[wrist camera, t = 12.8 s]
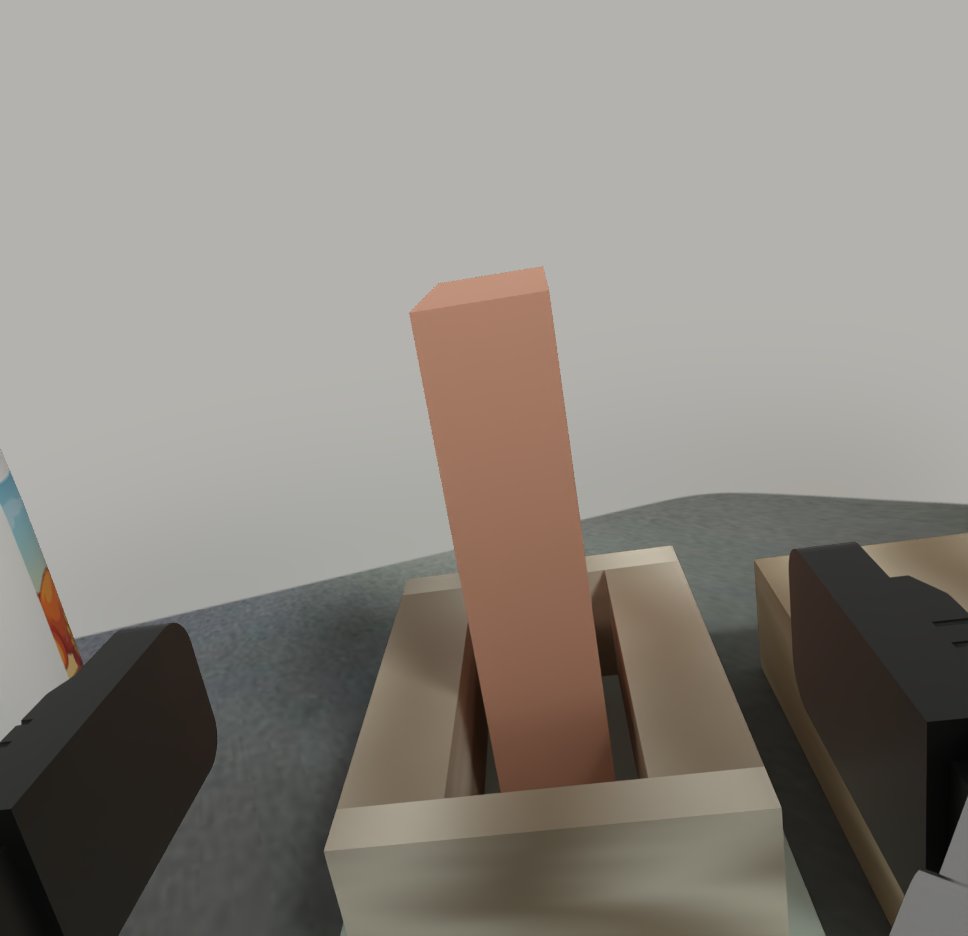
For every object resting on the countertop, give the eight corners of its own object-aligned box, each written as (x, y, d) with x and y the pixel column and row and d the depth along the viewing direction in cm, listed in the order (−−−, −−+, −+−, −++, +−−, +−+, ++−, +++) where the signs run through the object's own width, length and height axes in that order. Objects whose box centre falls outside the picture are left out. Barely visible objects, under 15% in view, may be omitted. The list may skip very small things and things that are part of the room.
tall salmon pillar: (601, 692, 27) (542, 266, 23) (621, 825, 21) (548, 290, 17) (512, 702, 27) (437, 283, 23) (509, 835, 22) (409, 312, 17)
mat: (698, 626, 30) (697, 619, 30) (869, 1056, 15) (870, 1044, 15) (412, 660, 31) (410, 653, 31) (306, 1093, 16) (303, 1082, 16)
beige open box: (681, 647, 29) (671, 545, 27) (790, 962, 17) (781, 807, 16) (428, 677, 30) (407, 579, 28) (364, 994, 18) (323, 851, 17)
